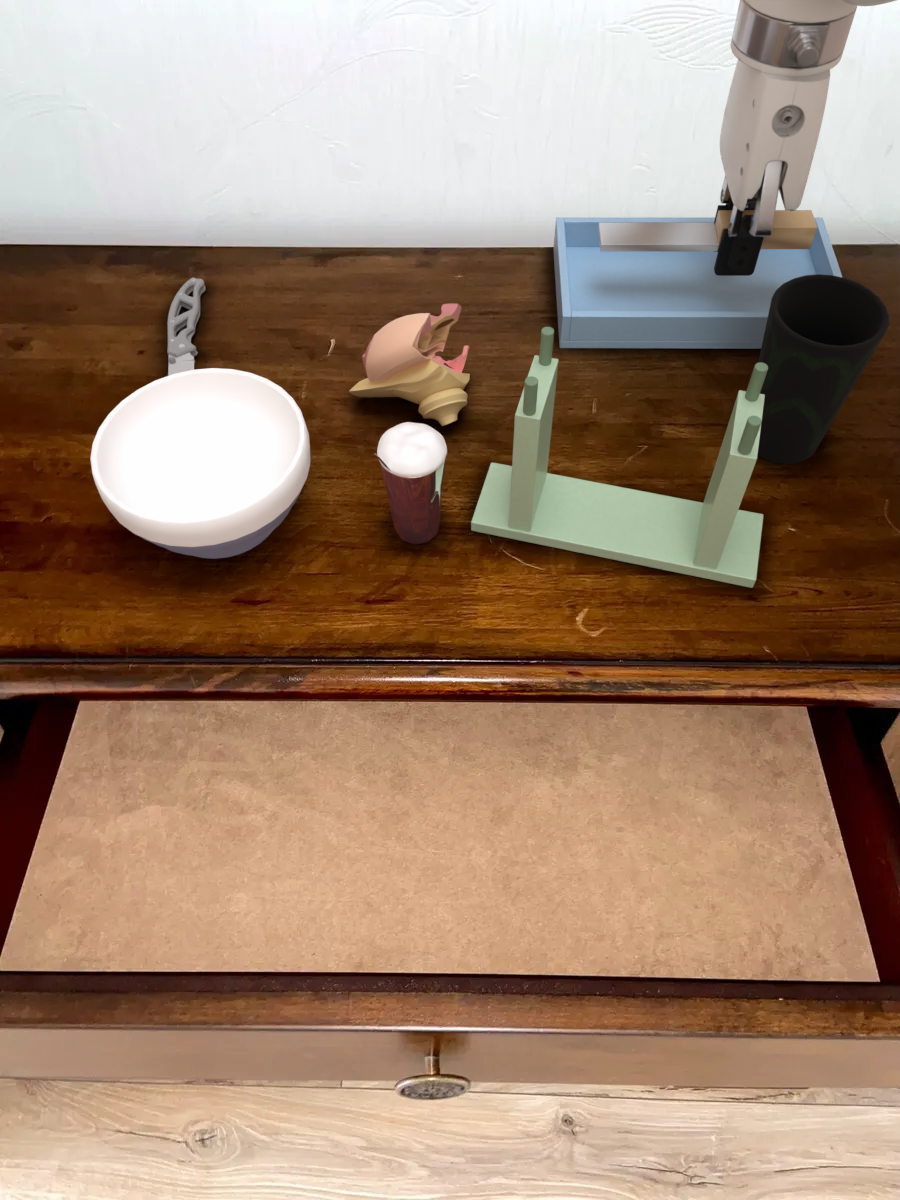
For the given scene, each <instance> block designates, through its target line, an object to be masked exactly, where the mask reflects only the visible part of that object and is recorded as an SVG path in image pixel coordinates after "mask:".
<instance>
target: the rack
mask: <svg viewBox="0 0 900 1200" xmlns="http://www.w3.org/2000/svg"><path fill="white" fill-rule="evenodd" d="M554 337H555V330H554V328H553V327H551V326H544V327H542V328H541V331H540V341H539V342H540V343H539V352H538V354H535V355H534V356H533V358H532V361H531V365H530V368H529V371H528V374H527V376H526V377H525V379H524V385H523V389H522V391H521V395H520V398H519V401H518V404H517V407H516V410H515V413H514V424H513V441H512V442H513V443H512V459H511V465H509V464H503V463H498V462H490V463H489V467H488V470H487V473H486V476H485V479H484V482H483V485H482V488H481V491H480V494H479V497H478V499H477V503H476V506H475V509H474V511H473V514H472V518H471V521H470V530H471V532H477V533H482V534H485V535H492V536H495V537H496V536H497V537H500V538H501V537H502V538H505V539H511V540H515V541H520V542H525V543H530V544H534V545H535V544H536V545H540V546H545V547H550V548H555V549H559V550H565V551H569V552H575V553H579V554H583V555H589V556H593V557H598V558H603V559H608V560H614V561H617V562H623V563H628V564H632V565H638V566H643V567H646V568H647V567H648V568H652V569H657V570H662V571H666V572H673V573H677V574H682V575H687V576H691V577H695V578H701V579H707V580H711V581H716V582H722V583H725V584H730V585H735V586H739V587H746V588H750V589H752V588H754V586H755V584H756V581H757V577H758V568H759V559H760V552H761V551H760V549H761V542H762V541H761V540H762V533H763V532H762V531H763V525H764V514H763V513H759V512H753V511H748V510H742V509H740V506H741V504H742V501H743V498H744V497H745V496H744V495H745V493H746V491H747V488H748V484H749V482H750V480H751V478H752V474H753V472H754V468H755V466H756V463H757V461H758V456H759V455H758V447H759V439H760V431H761V423H762V415H763V406H764V398H765V395H764V394H760V391H761V388H762V385H763V382H764V380H765V377H766V374H767V371H768V366H767V365H766V364H765V363H762V362H759V361H758V362H759V363H758V362H756V363H755V364H754V367H753V370H752V373H751V376H750V378H749V381H748V385H747V388H746V390H741V389H740V390H738V392H737V394H736V398H735V401H734V405H733V408H732V411H731V414H730V417H729V420H728V424H727V427H726V429H725V433H724V436H723V440H722V442H721V446H720V449H719V452H718V455H717V458H716V462H715V465H714V466H713V467H714V468H713V470H712V474H711V477H710V479H709V483H708V487H707V489H706V493H705V496H704V499H703V502H701V501H696V500H691V499H686V498H680V497H676V496H670V495H666V494H661V493H660V494H659V493H654V492H650V491H643V490H639V489H634V488H628V487H623V486H619V485H612V484H607V483H602V482H597V481H592V480H587V479H582V478H576V477H571V476H566V475H561V474H555V473H551V472H550V473H549V472H548V467H549V466H548V465H549V459H550V448H551V439H552V438H551V437H552V428H553V419H554V411H555V410H554V408H555V401H556V400H555V399H556V390H557V389H556V388H557V381H558V369H559V361H560V360H559V358H554V357H553V350H554V349H553V348H554V339H555V338H554Z"/></svg>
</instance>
